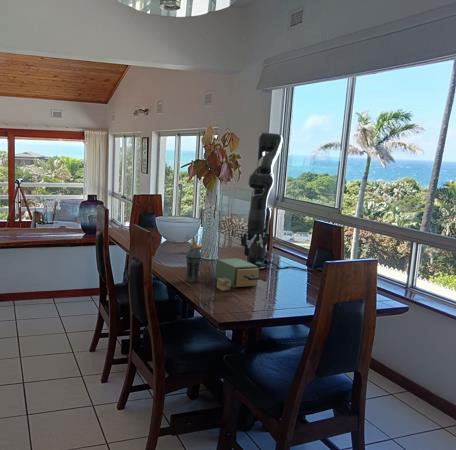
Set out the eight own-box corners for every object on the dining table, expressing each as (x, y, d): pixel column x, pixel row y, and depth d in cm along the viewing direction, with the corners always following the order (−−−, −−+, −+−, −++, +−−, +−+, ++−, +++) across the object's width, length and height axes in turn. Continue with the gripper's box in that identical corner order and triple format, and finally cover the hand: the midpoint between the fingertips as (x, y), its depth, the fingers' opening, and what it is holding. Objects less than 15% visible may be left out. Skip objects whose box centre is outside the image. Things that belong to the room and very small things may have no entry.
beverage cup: (202, 281, 214) (206, 239, 210) (193, 284, 208) (197, 241, 205) (190, 277, 218) (194, 236, 215) (180, 280, 213) (184, 238, 210)
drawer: (264, 288, 207) (266, 271, 206) (243, 290, 202) (245, 273, 200) (239, 277, 223) (241, 261, 222) (220, 278, 218) (221, 262, 217)
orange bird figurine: (213, 256, 270) (215, 237, 268) (183, 253, 271) (184, 234, 269) (213, 253, 276) (215, 235, 275) (183, 250, 278) (185, 232, 276)
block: (224, 287, 207) (225, 277, 207) (230, 289, 204) (231, 280, 203) (216, 287, 206) (217, 278, 205) (222, 290, 202) (223, 281, 201)
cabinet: (254, 285, 213) (257, 265, 212) (232, 287, 208) (235, 267, 206) (236, 277, 226) (238, 258, 225) (214, 278, 221) (216, 259, 219)
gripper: (249, 220, 196) (244, 258, 198) (275, 220, 202) (270, 257, 205) (238, 217, 202) (234, 254, 205) (264, 217, 209) (260, 253, 211)
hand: (252, 255), depth 205 cm, fingers open, 6 cm apart
